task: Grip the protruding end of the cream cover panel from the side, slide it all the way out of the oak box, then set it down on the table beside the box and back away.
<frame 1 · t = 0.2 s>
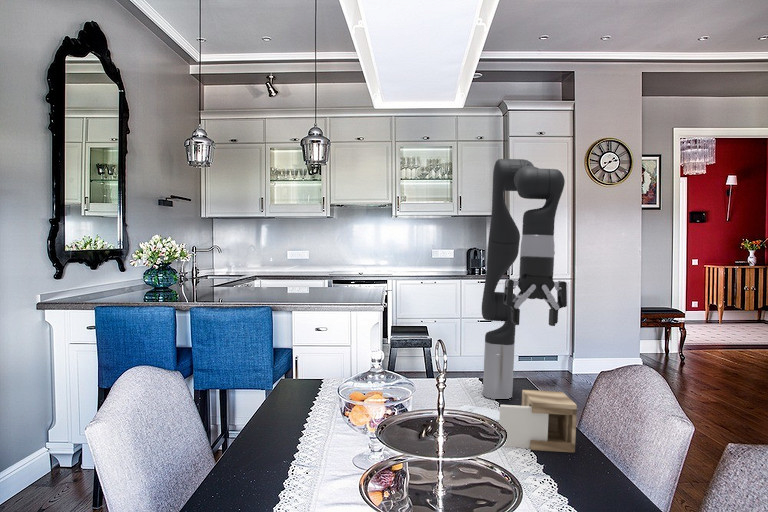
hand: (533, 325, 117), 29 cm above the table, tool pointing down, fingers open, 8 cm apart
cover plate: (522, 446, 119), on the table
external hard drive: (481, 417, 142), on the table
box: (545, 441, 123), on the table
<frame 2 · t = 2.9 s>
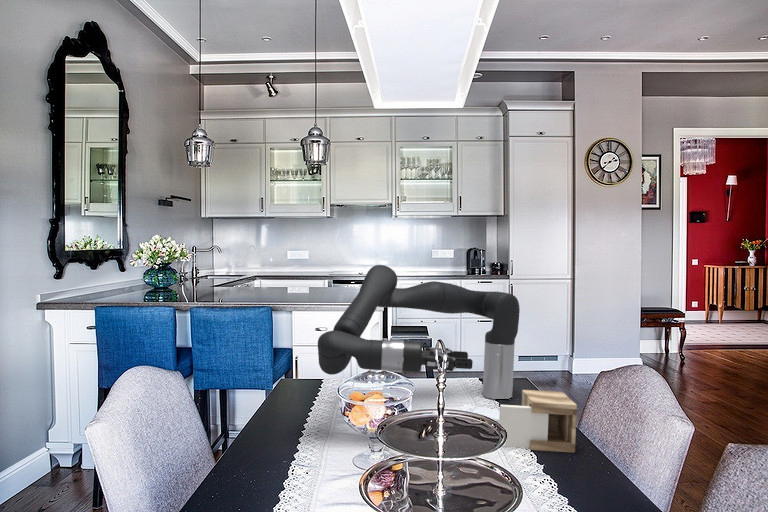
hand: (469, 360, 120), 20 cm above the table, tool horizontal, fingers open, 8 cm apart
nothing on the table moved.
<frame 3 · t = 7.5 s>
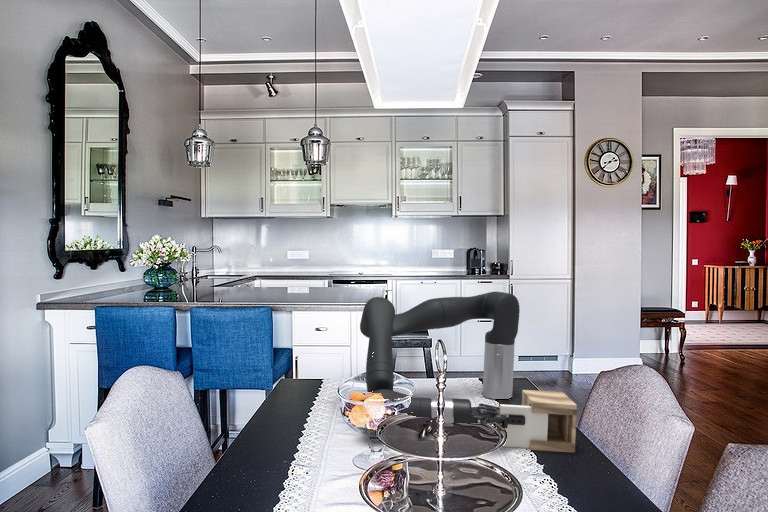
hand: (523, 418, 119), 7 cm above the table, tool horizontal, fingers closed on cover plate, 1 cm apart
cover plate: (522, 446, 119), on the table, touching gripper
everything else where it was.
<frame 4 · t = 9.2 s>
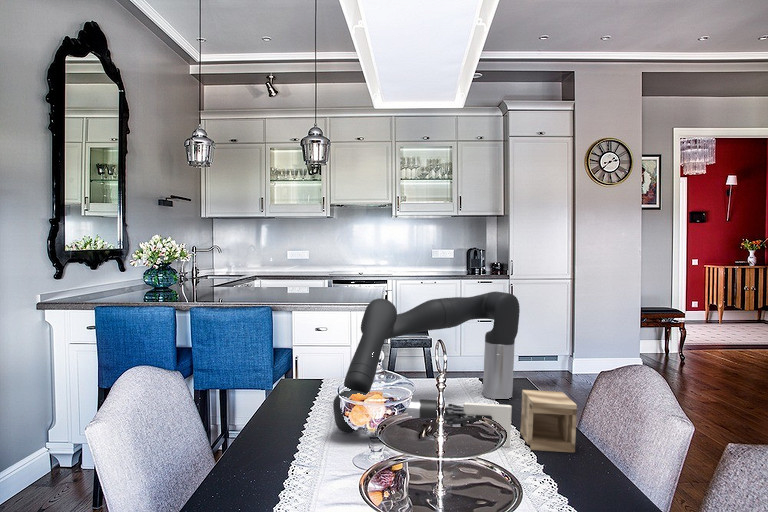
hand: (490, 419, 119), 6 cm above the table, tool horizontal, fingers closed on cover plate, 1 cm apart
cover plate: (485, 444, 120), on the table, touching gripper
everything else where it was.
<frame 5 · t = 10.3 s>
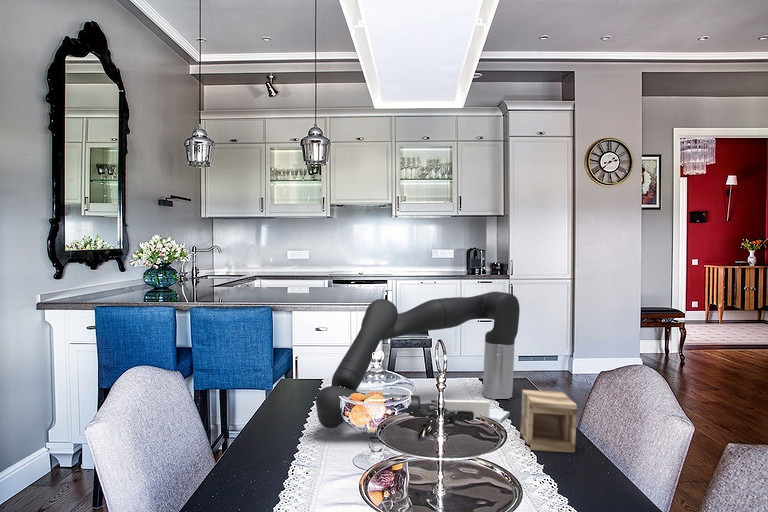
hand: (472, 415, 120), 7 cm above the table, tool horizontal, fingers closed on cover plate, 1 cm apart
cover plate: (465, 440, 120), on the table, touching gripper
everything else where it was.
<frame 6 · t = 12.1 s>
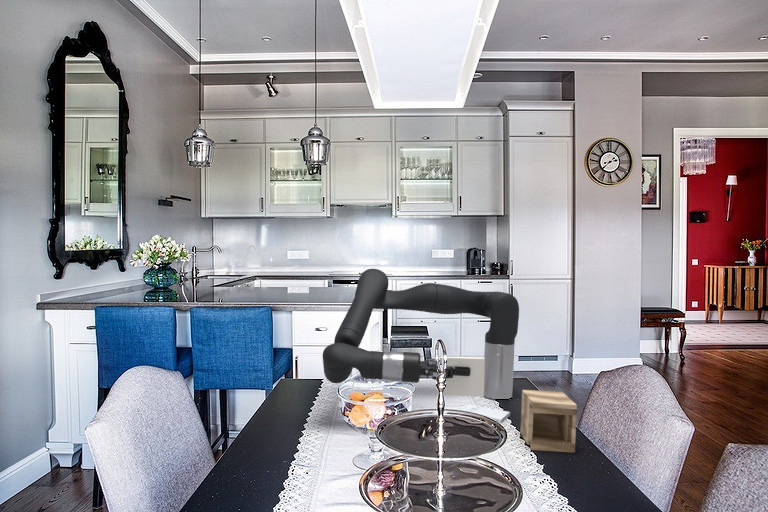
hand: (469, 370, 128), 15 cm above the table, tool horizontal, fingers closed on cover plate, 1 cm apart
cover plate: (461, 394, 128), point 9 cm above the table, touching gripper
everything else where it was.
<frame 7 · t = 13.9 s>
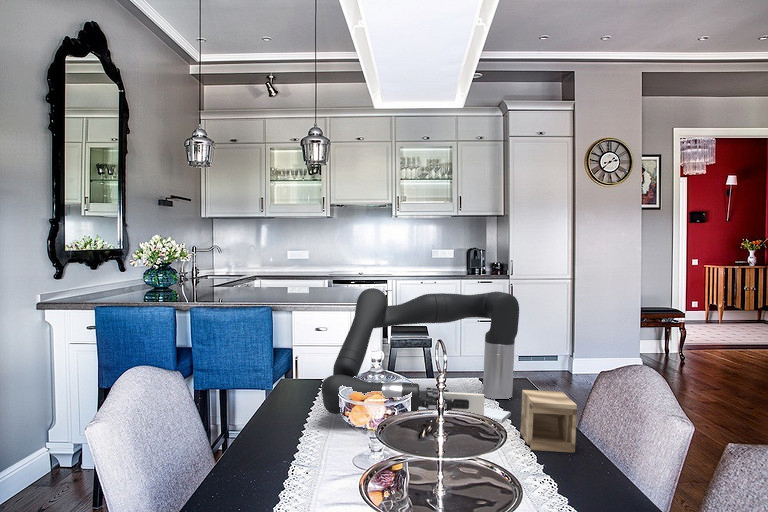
hand: (467, 401, 128), 8 cm above the table, tool horizontal, fingers open, 4 cm apart
cover plate: (460, 431, 128), on the table
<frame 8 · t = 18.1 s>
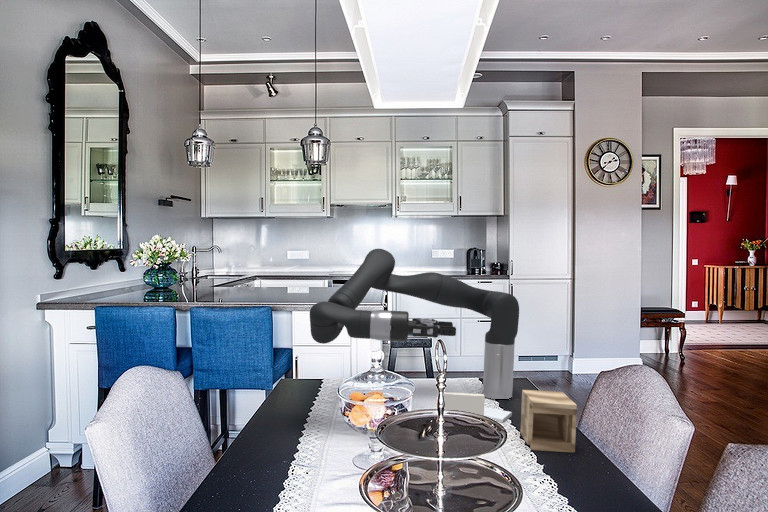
hand: (454, 328, 126), 26 cm above the table, tool horizontal, fingers open, 8 cm apart
at the end: cover plate inside the target area (2.8 cm from its centre), on the table; the gripper is holding nothing; cover plate moved 15.9 cm from its start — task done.
